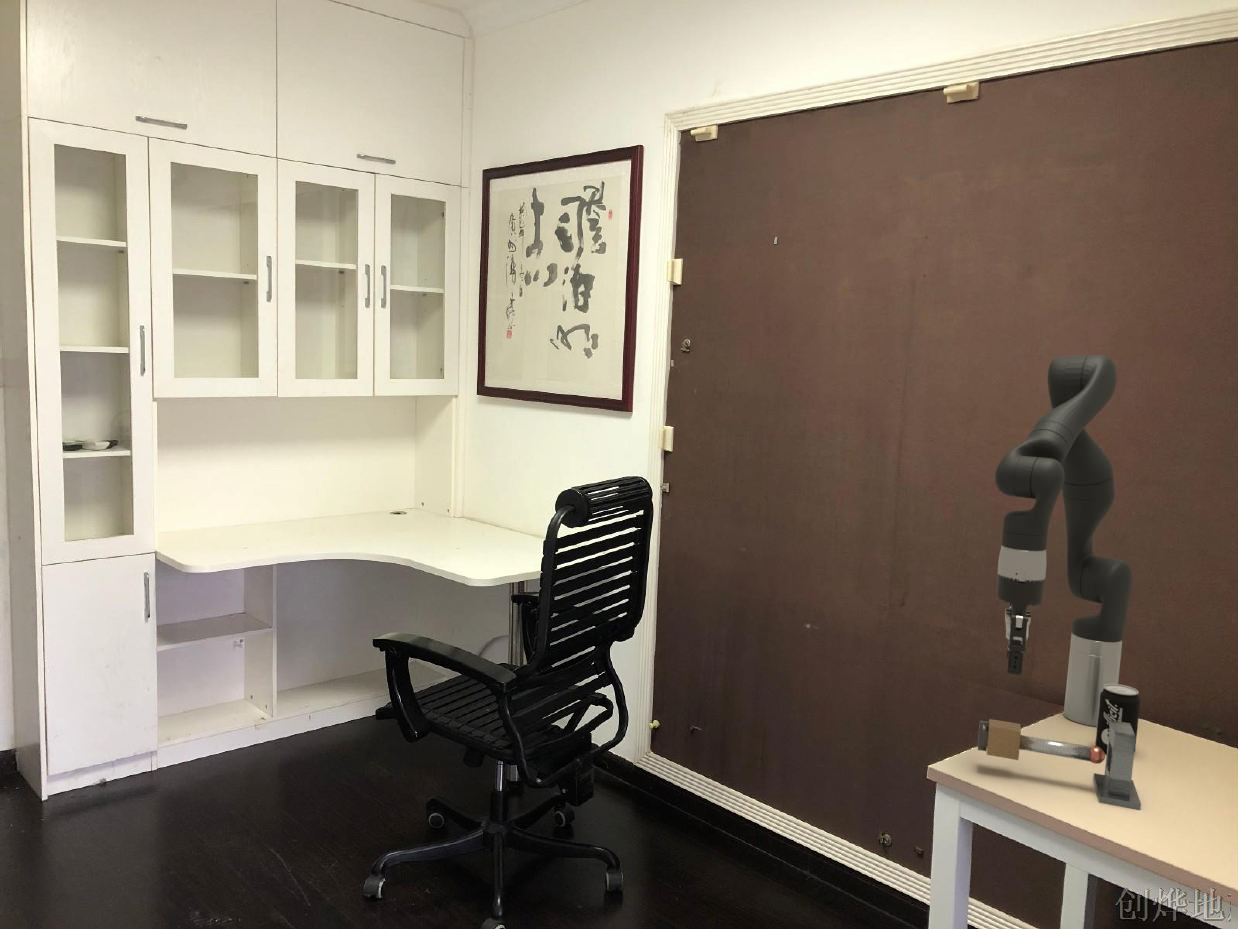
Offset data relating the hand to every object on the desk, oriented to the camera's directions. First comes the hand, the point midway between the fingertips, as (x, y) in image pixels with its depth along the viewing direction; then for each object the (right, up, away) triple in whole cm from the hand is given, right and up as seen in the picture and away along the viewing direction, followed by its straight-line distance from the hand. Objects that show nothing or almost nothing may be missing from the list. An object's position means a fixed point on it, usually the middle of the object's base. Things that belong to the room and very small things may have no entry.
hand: (1013, 666), depth 166 cm
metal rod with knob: (+4, -16, -1) cm, 16 cm away
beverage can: (+24, -19, +14) cm, 34 cm away
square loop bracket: (+15, -20, -5) cm, 26 cm away
